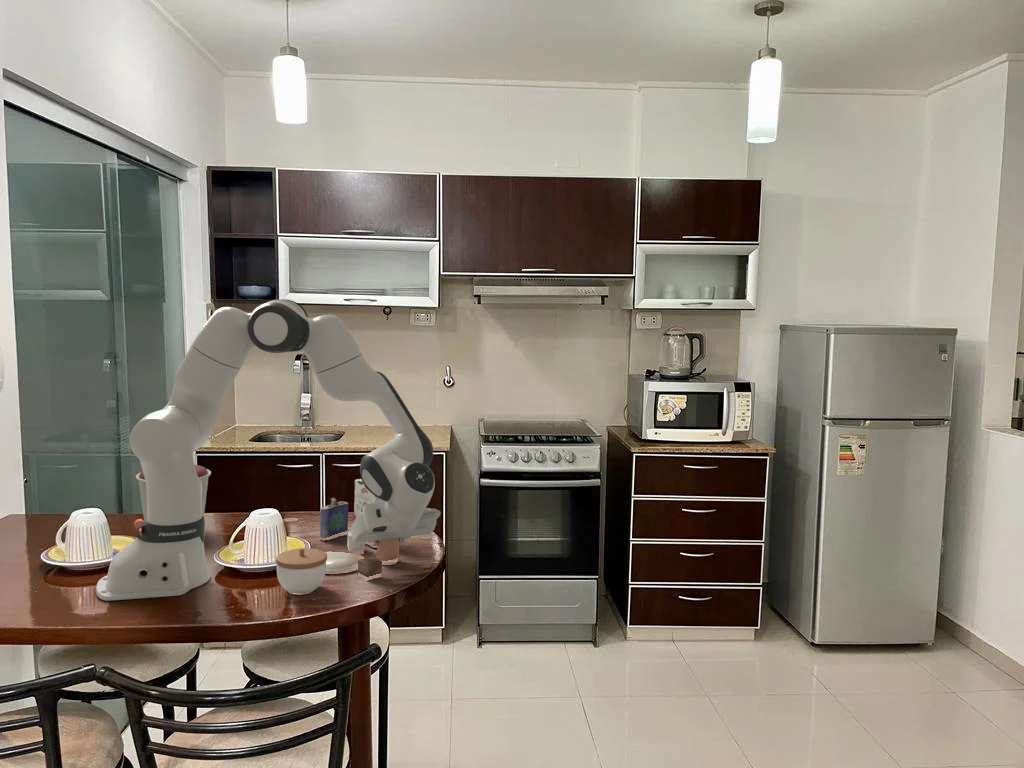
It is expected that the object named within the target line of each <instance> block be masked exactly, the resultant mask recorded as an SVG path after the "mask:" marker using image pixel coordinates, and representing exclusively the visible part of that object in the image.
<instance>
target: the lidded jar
mask: <svg viewBox="0 0 1024 768" xmlns="http://www.w3.org/2000/svg"><path fill="white" fill-rule="evenodd" d="M325 552H326V551H323V550H321V549H317V548H310V547H307V548H304V547H299V548H293V549H289V550H285V551H282V552H281V553H279V554H277V556H276V557H275V563H276V576H277V580H278V583H279V584H280V586H281V587H282V588H283V589H284V590H285V591H286V592H287V591H288V592H291V593H306V592H310V591H313V590H315V589H316V590H317V589H318V587H320V586H321V584H322V583H323V581H324V579H325V576H326V575H325V573H326V562H327V554H326V553H325ZM316 590H315V591H316Z"/></svg>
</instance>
